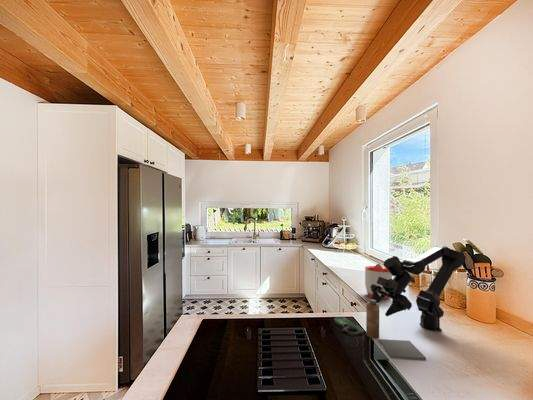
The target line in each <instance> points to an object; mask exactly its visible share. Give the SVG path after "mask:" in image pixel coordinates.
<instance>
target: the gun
mask: <svg viewBox="0 0 533 400" xmlns="http://www.w3.org/2000/svg"><path fill="white" fill-rule="evenodd" d="M333 322H334V324H335V325H337V326H338V327H340V328H341V330H340V332H341V333H343V334H344V333H345V334H347V335H348V336H351V337H358V336H364V335H365V334H366V329H364V328H362V327H360V326H359V325H357V324H356V323H354V322H353V321H351V320H349V319H348V318H347V317H345V316H340V317H339V316H338V317H334V319H333ZM352 331H353V332H352Z"/></svg>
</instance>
